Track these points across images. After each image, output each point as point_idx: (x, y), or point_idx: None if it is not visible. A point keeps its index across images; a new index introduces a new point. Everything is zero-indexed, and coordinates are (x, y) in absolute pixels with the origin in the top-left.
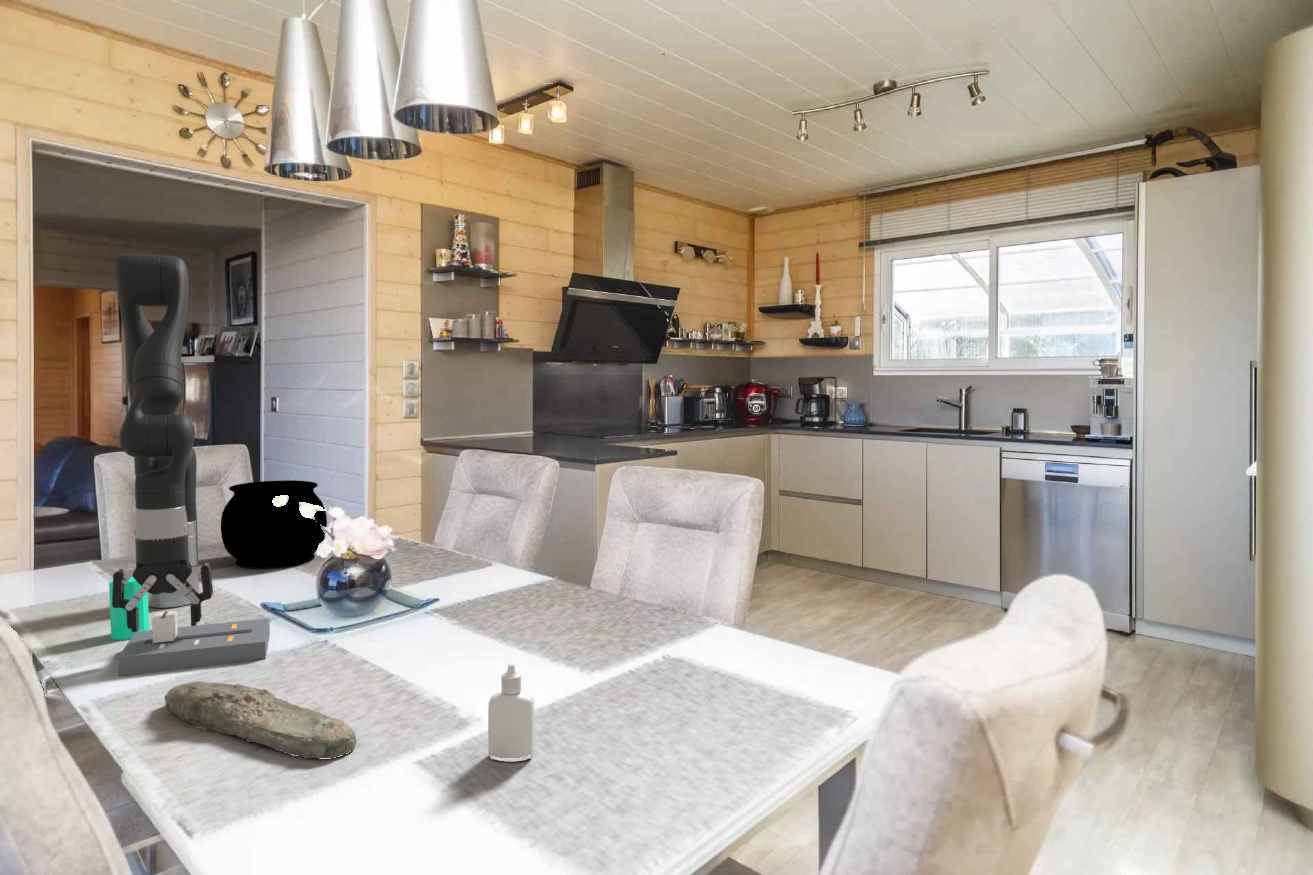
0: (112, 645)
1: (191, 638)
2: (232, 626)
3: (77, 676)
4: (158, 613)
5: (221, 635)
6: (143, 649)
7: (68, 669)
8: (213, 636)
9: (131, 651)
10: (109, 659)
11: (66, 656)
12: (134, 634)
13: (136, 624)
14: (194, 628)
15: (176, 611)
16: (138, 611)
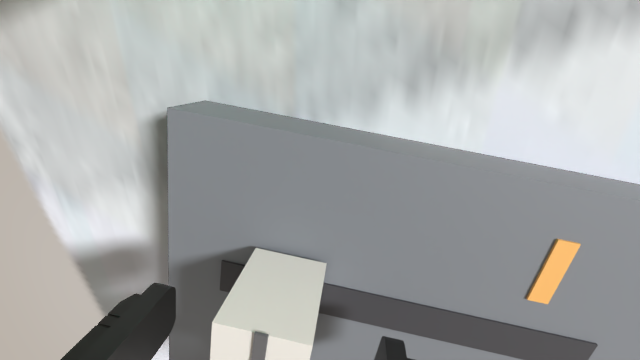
0: (117, 6)
1: (369, 323)
2: (545, 270)
3: (107, 276)
4: (223, 340)
5: (470, 345)
6: None
7: (66, 209)
8: (442, 342)
9: (196, 341)
10: (147, 179)
11: (9, 69)
12: (170, 153)
13: (155, 350)
14: (397, 200)
15: (310, 353)
16: (117, 353)
